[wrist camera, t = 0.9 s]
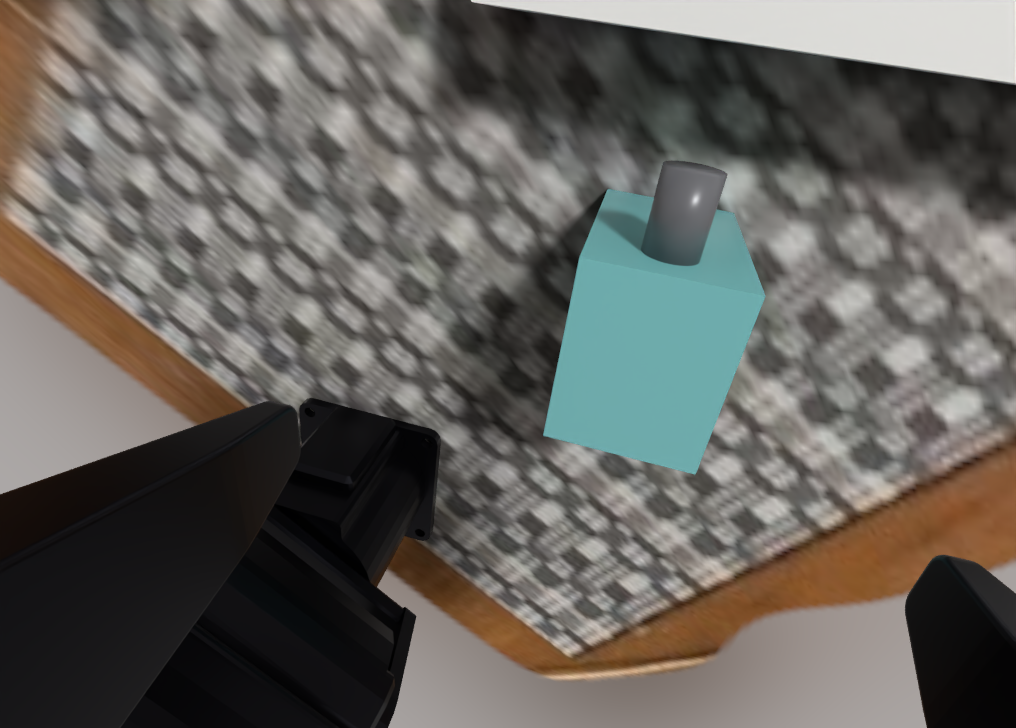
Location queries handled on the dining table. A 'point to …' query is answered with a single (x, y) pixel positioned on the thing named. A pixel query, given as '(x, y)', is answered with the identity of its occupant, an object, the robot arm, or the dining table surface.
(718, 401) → the teal plug
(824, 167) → the dining table surface
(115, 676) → the robot arm
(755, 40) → the square hole tray
